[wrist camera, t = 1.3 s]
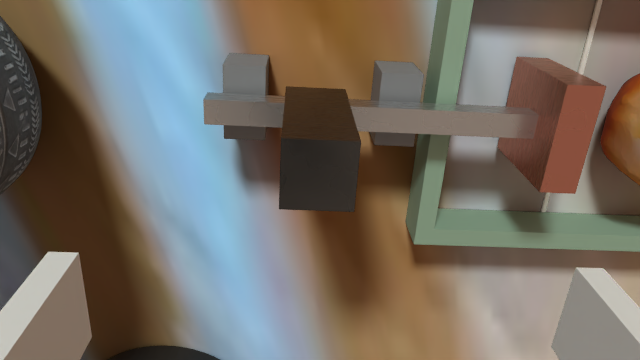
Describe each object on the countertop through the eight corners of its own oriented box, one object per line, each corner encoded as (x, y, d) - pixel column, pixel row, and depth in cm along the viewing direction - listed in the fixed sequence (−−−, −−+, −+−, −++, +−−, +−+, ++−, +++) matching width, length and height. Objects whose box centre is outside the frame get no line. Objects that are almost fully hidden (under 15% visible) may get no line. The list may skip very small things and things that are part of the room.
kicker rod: (217, 135, 34) (175, 234, 23) (214, 40, 31) (166, 98, 20) (526, 148, 35) (635, 249, 24) (548, 58, 33) (681, 122, 21)
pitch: (231, 216, 37) (226, 239, 34) (228, -73, 29) (220, -75, 26) (657, 231, 39) (686, 254, 36) (758, -39, 31) (806, -36, 28)
